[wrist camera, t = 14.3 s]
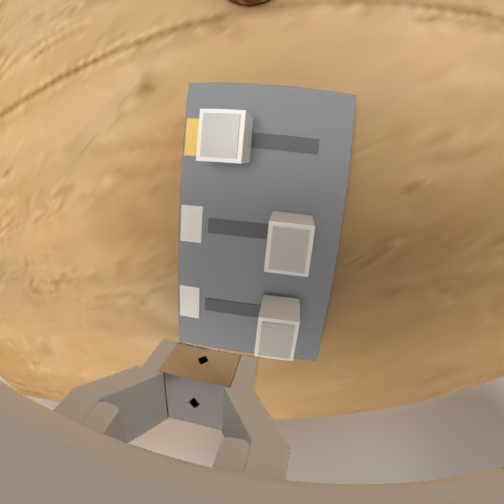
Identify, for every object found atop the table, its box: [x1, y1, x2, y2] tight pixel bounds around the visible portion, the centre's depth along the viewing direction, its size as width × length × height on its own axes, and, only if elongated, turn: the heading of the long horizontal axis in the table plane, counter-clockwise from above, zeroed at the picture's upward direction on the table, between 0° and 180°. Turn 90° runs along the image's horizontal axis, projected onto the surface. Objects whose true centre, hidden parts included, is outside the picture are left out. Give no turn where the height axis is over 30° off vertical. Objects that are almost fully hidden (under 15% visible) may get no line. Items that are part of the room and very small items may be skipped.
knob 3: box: [254, 295, 300, 361], centre depth 25 cm, size 3×4×4 cm
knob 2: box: [264, 211, 315, 277], centre depth 23 cm, size 3×4×4 cm
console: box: [178, 83, 356, 361], centre depth 27 cm, size 13×23×4 cm, turn 175°
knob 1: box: [196, 109, 254, 164], centre depth 21 cm, size 3×4×4 cm
